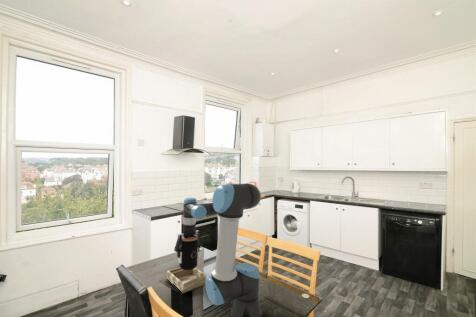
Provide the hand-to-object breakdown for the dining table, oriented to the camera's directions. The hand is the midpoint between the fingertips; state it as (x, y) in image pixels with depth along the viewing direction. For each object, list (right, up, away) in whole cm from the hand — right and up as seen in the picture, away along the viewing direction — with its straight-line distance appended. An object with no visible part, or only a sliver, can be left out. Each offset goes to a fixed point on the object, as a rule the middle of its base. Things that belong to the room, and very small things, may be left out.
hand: (188, 260), depth 142 cm
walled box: (-2, -14, +1) cm, 14 cm away
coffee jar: (0, -4, 0) cm, 4 cm away
